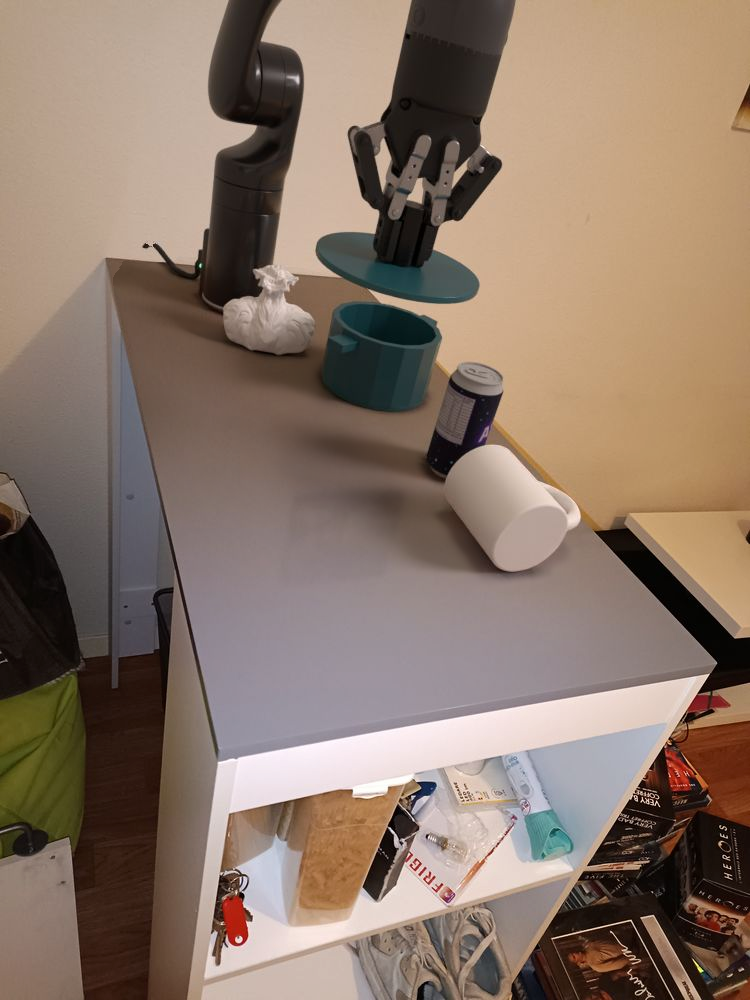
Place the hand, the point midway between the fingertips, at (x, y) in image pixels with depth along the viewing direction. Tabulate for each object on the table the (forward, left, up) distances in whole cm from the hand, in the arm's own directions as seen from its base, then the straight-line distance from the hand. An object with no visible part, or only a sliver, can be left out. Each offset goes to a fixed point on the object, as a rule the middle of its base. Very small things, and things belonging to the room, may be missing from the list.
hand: (399, 260), depth 65 cm
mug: (+17, +5, -22) cm, 29 cm away
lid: (0, 0, -1) cm, 1 cm away
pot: (-12, +18, -22) cm, 31 cm away
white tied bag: (-27, +13, -22) cm, 37 cm away
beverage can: (+6, +10, -22) cm, 25 cm away
